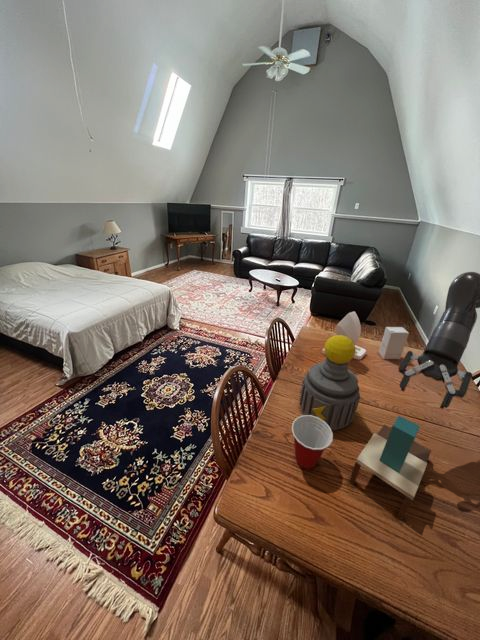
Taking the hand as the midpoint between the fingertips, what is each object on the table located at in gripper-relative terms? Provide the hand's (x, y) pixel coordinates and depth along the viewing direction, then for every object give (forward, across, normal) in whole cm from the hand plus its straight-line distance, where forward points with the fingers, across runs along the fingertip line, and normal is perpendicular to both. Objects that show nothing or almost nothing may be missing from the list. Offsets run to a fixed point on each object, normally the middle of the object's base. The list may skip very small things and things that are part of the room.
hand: (421, 398), depth 66 cm
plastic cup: (+29, -18, +5) cm, 35 cm away
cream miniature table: (+19, 0, +16) cm, 24 cm away
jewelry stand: (-15, -37, +50) cm, 64 cm away
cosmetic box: (-26, -21, +61) cm, 70 cm away
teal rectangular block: (+17, 0, +5) cm, 17 cm away
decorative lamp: (+14, -24, +21) cm, 35 cm away
